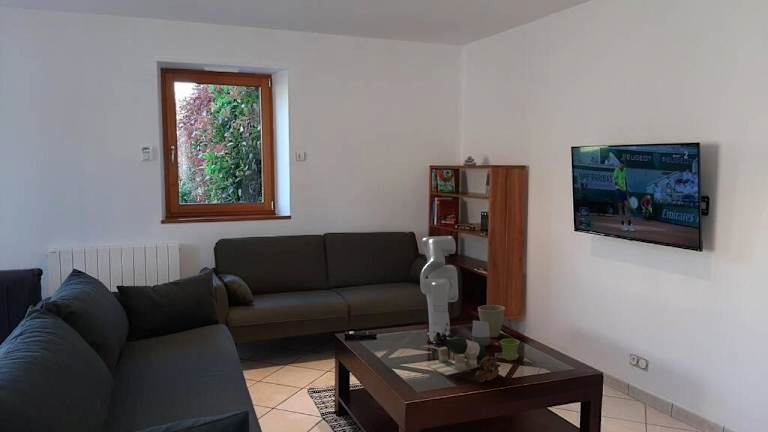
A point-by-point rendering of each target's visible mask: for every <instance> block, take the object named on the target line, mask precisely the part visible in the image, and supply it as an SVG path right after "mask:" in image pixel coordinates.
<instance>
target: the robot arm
mask: <svg viewBox="0 0 768 432" xmlns="http://www.w3.org/2000/svg"><path fill="white" fill-rule="evenodd" d="M421 247H422V250H423V252H424V254H425V257H426V262H427V263H426V264H425V265H424V266H423V268H422V270H421V271H420V275H419V279H420V281H419V282H420V283H419V284H420V291H421V293H423V295H426V301H427V309H428V324H429V325H428V327H429V330H428V331H429V332H427V333H426V334H427V336H428V338H430V340H431V341H433V337H434V336H440V337H441V344H439V343H436V342H434V341H433V343H436V344H435V345H436V346H440V348H442V347H448V346H447V339H450V337H449V336H450V335H451V332H450V330H451V324H450V323H451V322H450V314H449V309H448V308H449V307H448V303H453V302H456V301H458V299H459V282H458V280H459V279H458V271H457V267H456V266H454V265H451V264H447V265H446V258H445V255H453V254H455V252H456V251H457V250H456V249H457V248H456V241H455V239H454V236H452V235H440V236H437V235H436V236H434V235H433V236H425V237H423V238H422V239H421Z"/></svg>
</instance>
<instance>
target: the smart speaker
mask: <svg viewBox="0 0 768 432" xmlns="http://www.w3.org/2000/svg"><path fill="white" fill-rule="evenodd" d="M471 333H472V335H471V336H472V340H471V341H472V342H476V343H479V344H482V345H484V346H485V347H488V346H489V345H490V342H491V337H490V332H489V325H488V323H487V322H481V321H480V320H472V332H471Z"/></svg>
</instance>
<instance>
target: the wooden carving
mask: <svg viewBox="0 0 768 432" xmlns="http://www.w3.org/2000/svg"><path fill="white" fill-rule="evenodd" d="M478 365H479V367H478V368H479V370H476V373H475V374H474V375H475V377H476V380H477V382H479V383H484V382H485V381H492V380H494V379H496V377H497V376H498V375H499V372H500V369H499V368H500V367H501V364H500V363H497V357H495V356H494V357H493V356H484V358H482V359H481V360H479V362H478ZM493 378H494V379H493ZM491 379H492V380H491Z"/></svg>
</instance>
